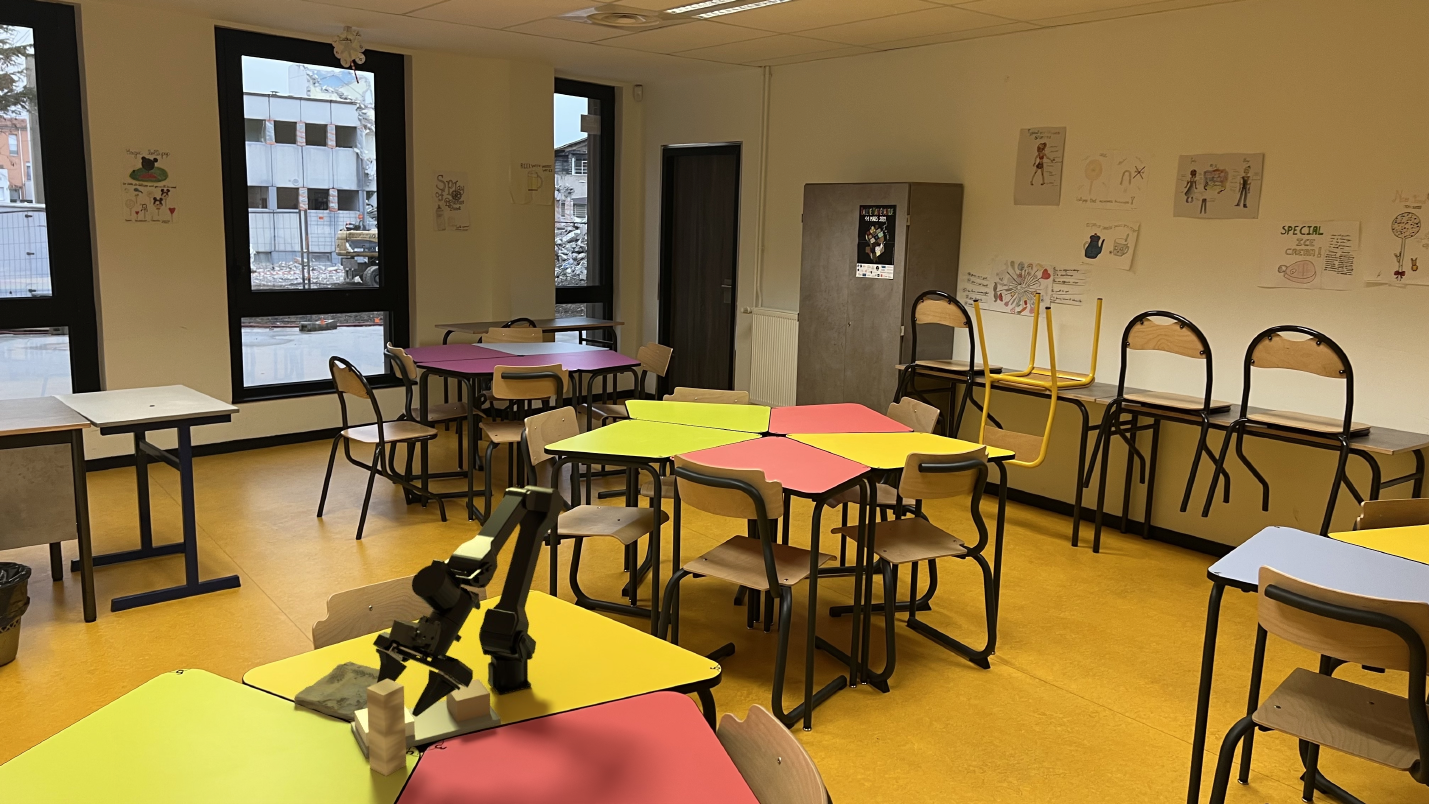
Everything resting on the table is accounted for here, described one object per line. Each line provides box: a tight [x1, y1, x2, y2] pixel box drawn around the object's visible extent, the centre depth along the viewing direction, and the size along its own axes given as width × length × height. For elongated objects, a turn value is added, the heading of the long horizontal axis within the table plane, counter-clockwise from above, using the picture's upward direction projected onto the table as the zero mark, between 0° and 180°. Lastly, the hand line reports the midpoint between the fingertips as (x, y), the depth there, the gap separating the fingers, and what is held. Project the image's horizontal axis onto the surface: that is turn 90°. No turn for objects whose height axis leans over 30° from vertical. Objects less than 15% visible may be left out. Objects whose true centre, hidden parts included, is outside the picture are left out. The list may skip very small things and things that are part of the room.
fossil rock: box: [293, 661, 380, 722], centre depth 185 cm, size 18×15×2 cm
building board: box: [350, 678, 502, 759], centre depth 174 cm, size 23×11×5 cm, turn 122°
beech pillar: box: [367, 679, 407, 777], centre depth 161 cm, size 4×4×14 cm
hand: (394, 707), depth 161 cm, fingers open, 9 cm apart
